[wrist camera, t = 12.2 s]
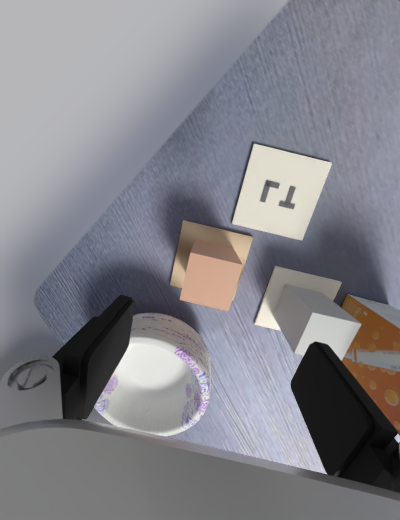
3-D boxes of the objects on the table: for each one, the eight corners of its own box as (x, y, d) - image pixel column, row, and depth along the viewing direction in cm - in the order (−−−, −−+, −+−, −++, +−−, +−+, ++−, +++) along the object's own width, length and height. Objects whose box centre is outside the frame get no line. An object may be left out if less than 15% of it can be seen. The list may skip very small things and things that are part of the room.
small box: (345, 292, 26) (471, 373, 14) (390, 304, 26) (554, 394, 14) (320, 341, 28) (408, 449, 16) (361, 351, 28) (480, 466, 16)
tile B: (274, 265, 25) (276, 266, 25) (340, 281, 26) (342, 282, 25) (254, 322, 28) (254, 325, 28) (313, 336, 28) (315, 339, 28)
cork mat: (183, 220, 24) (183, 220, 24) (252, 236, 25) (253, 237, 24) (170, 283, 27) (169, 285, 26) (233, 298, 27) (233, 300, 27)
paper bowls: (95, 319, 29) (54, 360, 22) (187, 287, 27) (178, 319, 19) (140, 393, 33) (119, 450, 25) (224, 369, 31) (229, 424, 23)
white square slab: (253, 144, 22) (254, 143, 21) (330, 163, 22) (332, 162, 21) (231, 223, 24) (232, 223, 24) (300, 240, 24) (302, 240, 24)
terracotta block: (195, 239, 25) (190, 252, 18) (233, 248, 25) (242, 265, 18) (187, 275, 26) (179, 299, 19) (223, 283, 26) (228, 311, 19)
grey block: (285, 284, 26) (312, 312, 19) (321, 292, 26) (361, 323, 19) (273, 316, 27) (294, 353, 20) (307, 324, 27) (339, 363, 20)
